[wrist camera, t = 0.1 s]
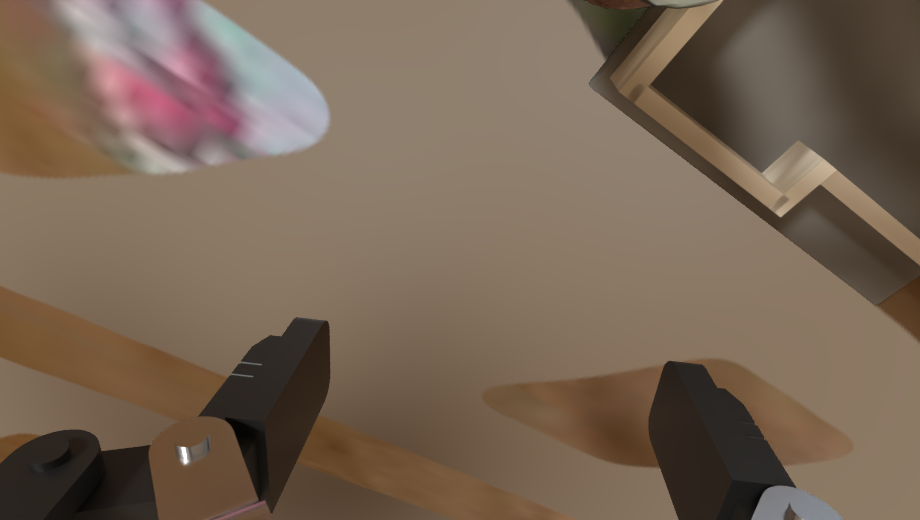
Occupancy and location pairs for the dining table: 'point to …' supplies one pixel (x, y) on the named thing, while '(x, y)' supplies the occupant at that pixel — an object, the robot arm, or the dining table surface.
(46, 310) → the dining table surface
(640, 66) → the keyhole board
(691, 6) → the sauce bottle
